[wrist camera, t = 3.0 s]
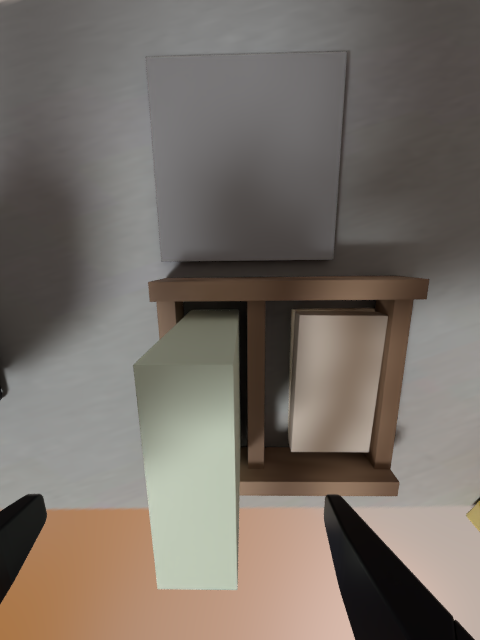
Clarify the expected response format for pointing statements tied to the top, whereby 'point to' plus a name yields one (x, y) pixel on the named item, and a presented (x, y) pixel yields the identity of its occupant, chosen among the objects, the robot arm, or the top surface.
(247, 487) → the rack
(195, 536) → the pale green square slab
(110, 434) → the top surface
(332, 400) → the upper offcut
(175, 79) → the mat
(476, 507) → the candy box
